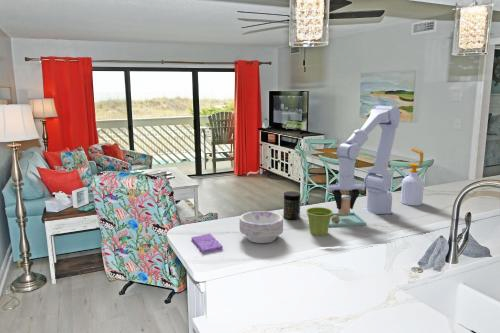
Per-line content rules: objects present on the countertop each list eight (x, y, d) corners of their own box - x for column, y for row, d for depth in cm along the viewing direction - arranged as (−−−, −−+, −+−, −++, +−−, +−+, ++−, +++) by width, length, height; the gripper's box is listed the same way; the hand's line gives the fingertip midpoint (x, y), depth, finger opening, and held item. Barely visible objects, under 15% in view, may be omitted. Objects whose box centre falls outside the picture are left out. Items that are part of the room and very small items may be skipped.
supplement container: (299, 222, 151) (299, 196, 149) (282, 221, 153) (282, 195, 151) (300, 216, 158) (301, 191, 156) (284, 215, 159) (284, 190, 157)
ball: (338, 221, 150) (338, 213, 149) (340, 224, 147) (341, 216, 146) (330, 222, 150) (330, 214, 149) (332, 225, 146) (333, 216, 146)
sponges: (202, 255, 124) (202, 249, 124) (191, 241, 135) (191, 236, 135) (223, 251, 127) (223, 245, 127) (210, 237, 138) (210, 232, 138)
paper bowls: (273, 228, 145) (273, 207, 144) (290, 243, 131) (290, 221, 130) (234, 233, 141) (234, 212, 139) (247, 249, 127) (247, 227, 125)
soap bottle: (403, 198, 181) (407, 146, 176) (424, 202, 176) (429, 148, 170) (398, 203, 174) (402, 149, 169) (419, 207, 169) (424, 151, 163)
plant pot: (300, 231, 142) (301, 208, 140) (322, 227, 146) (323, 205, 144) (314, 240, 133) (315, 217, 132) (337, 236, 137) (338, 213, 135)
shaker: (347, 211, 155) (348, 194, 153) (351, 215, 151) (352, 198, 149) (336, 212, 155) (337, 194, 153) (340, 216, 150) (341, 198, 149)
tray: (354, 215, 158) (354, 212, 158) (366, 226, 147) (366, 222, 146) (315, 217, 156) (316, 213, 156) (325, 228, 145) (325, 224, 144)
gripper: (360, 171, 154) (358, 204, 156) (324, 172, 152) (323, 206, 155) (367, 175, 147) (365, 210, 150) (330, 177, 145) (329, 211, 148)
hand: (344, 208), depth 152 cm, fingers closed on shaker, 4 cm apart
